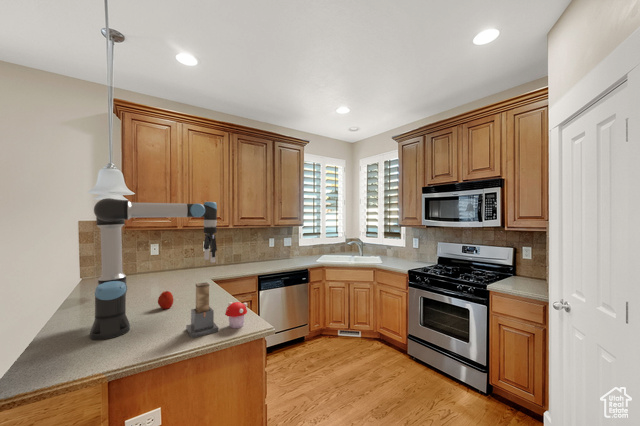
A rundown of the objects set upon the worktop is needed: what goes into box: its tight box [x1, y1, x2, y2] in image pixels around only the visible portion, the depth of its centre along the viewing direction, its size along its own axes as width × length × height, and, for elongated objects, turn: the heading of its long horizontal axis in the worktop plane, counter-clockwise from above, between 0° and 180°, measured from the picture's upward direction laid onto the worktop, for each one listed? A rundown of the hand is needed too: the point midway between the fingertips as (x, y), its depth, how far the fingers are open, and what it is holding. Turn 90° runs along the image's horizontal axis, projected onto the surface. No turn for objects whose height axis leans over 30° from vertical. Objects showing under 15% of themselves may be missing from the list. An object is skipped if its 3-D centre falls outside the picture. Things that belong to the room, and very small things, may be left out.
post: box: [195, 281, 210, 313], centre depth 132 cm, size 5×5×20 cm
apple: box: [157, 290, 174, 310], centre depth 164 cm, size 8×8×11 cm
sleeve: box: [185, 305, 219, 339], centre depth 132 cm, size 12×12×10 cm
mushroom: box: [224, 301, 248, 329], centre depth 138 cm, size 11×11×12 cm
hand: (209, 261), depth 167 cm, fingers open, 13 cm apart
